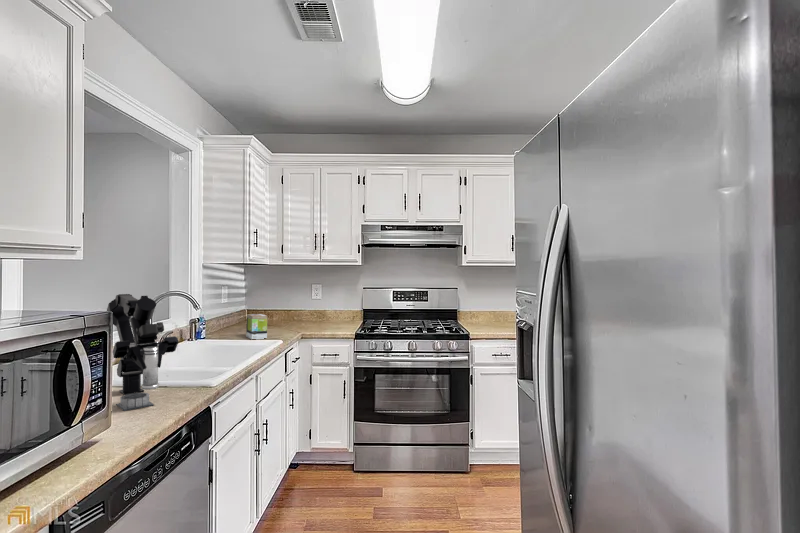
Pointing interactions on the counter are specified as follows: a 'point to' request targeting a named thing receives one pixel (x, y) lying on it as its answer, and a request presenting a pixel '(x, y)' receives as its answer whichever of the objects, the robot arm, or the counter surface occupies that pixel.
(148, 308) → the robot arm
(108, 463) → the counter surface
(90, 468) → the counter surface
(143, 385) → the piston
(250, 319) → the tea box
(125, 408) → the sleeve
